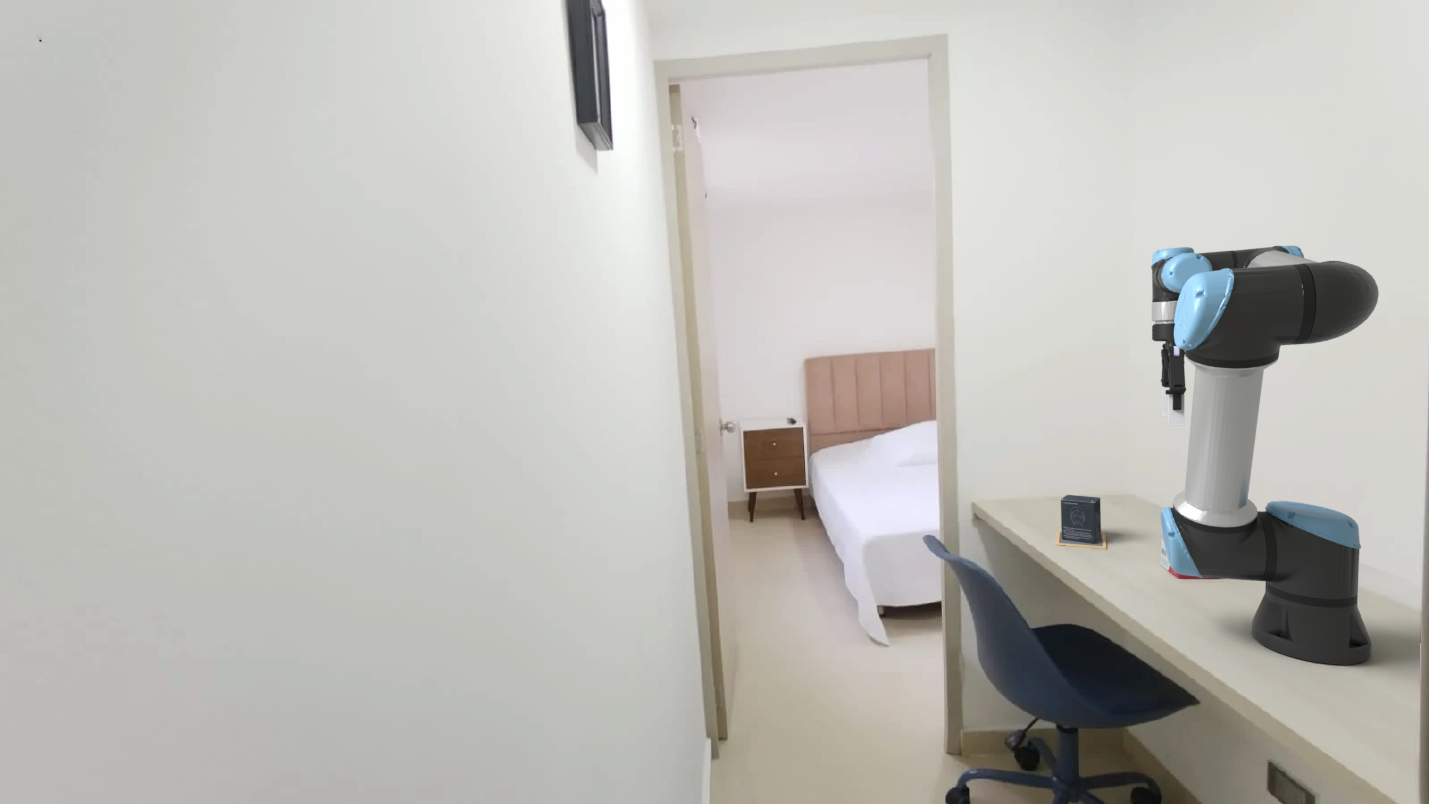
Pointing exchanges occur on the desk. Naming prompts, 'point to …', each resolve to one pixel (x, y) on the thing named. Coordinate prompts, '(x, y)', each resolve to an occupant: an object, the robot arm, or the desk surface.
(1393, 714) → the desk surface
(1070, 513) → the box
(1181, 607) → the desk surface
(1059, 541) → the mat
